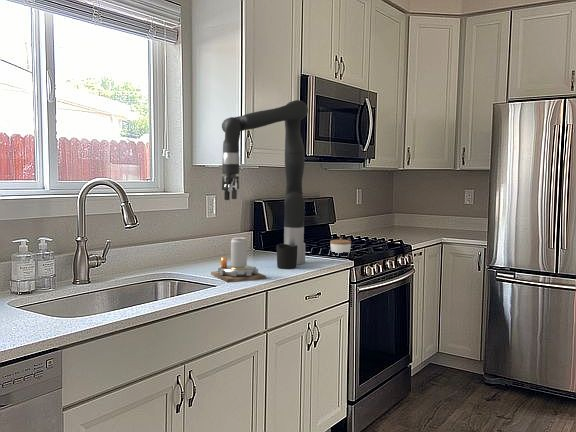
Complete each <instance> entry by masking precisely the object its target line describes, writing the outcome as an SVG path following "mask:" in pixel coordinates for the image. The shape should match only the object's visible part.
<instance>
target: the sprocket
mask: <svg viewBox="0 0 576 432" xmlns="http://www.w3.org/2000/svg"><path fill="white" fill-rule="evenodd" d="M217 271H218V272H220V274H221V275H226V276H251V275H254V274H258V273H259V268H257V267H256V266H253V265H247V266H245V267H244V268H233V267H232V266H231V265H228V257H220V267H218V269H217Z"/></svg>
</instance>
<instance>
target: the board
mask: <svg viewBox="0 0 576 432" xmlns="http://www.w3.org/2000/svg"><path fill="white" fill-rule="evenodd" d="M210 275H211V276H213V277H215V278H217V279H219V280H220V281H223V282H226V283H233V282H246V281H256V280H266V279H267V275H266V274H263V273H260V272H258V274H254V275H251V276H226V275H221V274H220V272H218V270H216V271H210Z"/></svg>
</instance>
